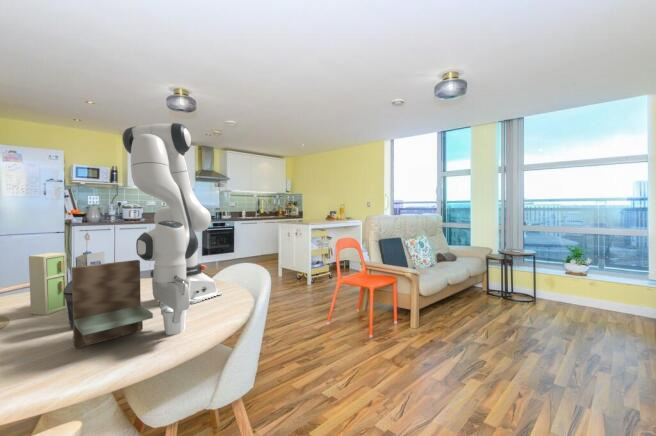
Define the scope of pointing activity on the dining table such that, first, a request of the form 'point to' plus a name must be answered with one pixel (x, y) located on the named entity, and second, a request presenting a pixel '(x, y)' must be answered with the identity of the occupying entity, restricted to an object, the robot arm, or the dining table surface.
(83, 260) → the milk carton
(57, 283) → the toy refrigerator
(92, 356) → the dining table surface
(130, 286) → the wall shelf
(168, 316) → the white cup
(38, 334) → the dining table surface
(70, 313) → the beverage cup
